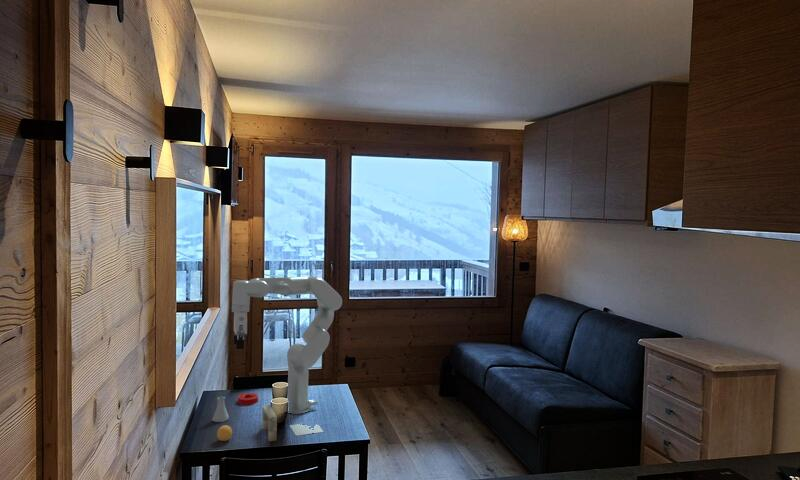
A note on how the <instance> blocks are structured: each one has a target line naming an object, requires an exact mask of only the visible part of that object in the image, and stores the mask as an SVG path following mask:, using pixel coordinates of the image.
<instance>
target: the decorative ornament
mask: <svg viewBox="0 0 800 480" xmlns="http://www.w3.org/2000/svg"><path fill="white" fill-rule="evenodd" d="M237 396H238V397H237V404H238V405H243V406H251V405H255V404H257V403H259V395H258V394H257V393H252V392H249V393H248V392H247V393H241V394H239V395H237Z"/></svg>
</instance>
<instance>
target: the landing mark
mask: <svg viewBox="0 0 800 480" xmlns="http://www.w3.org/2000/svg"><path fill="white" fill-rule="evenodd" d="M300 424H301V425H300ZM302 424H303V423H297V424H290V425H288V426H289V428H290V429H291V430H292V432H293V433H294V435H295V436H296V437H299V436H306V435H312V433H314V434H319V433H320V434H321V433H324V430H323V428H321V426H320V425H319V424H318V423H317V424H318V425H317V424H316V425H315V426H314V428H311V429H309V427H311V426H307V425H302ZM305 426H306V427H305ZM312 429H314V430H312Z"/></svg>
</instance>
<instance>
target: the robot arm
mask: <svg viewBox="0 0 800 480" xmlns="http://www.w3.org/2000/svg"><path fill="white" fill-rule="evenodd" d="M268 294H271V295H273V294H275V295H281V296H298V295H299V296H302V295H314V296H315V297H316V303H317V313H316V314H315V317H314V318H313V319H312V321H311V322H310V324H309V325H308V326H307V327H306V329H305V331H304V332H303V333H302V340H303V341H304V342H305V343H306V344H305V345H304V344H302V343H294V344H292V345H290V346H289V348H288V350H287V354H286V358H287V360H286V361H287V369H288V370H287V371H288V373H287V374H288V377H287V402H288V401H289V411H288V412H289V413H292V414H291V415H301V414H300V413H303V414H306V413H305V412H307V413H308V411H309V410H310V409H312V406H316V405H318V400H314V399H309V369H310V368H312V367H314V365H315V364H316V363H317V361H318V360H319V359H320V357H322V355H323V354H324V352H325V351H326V349H327V348H328V346H329V344H330V339H331V337H330V334H329V332H328V329H330V327H331V325H332V323H333V321H334V319H335V318H334V317H335V311H338V310H339V309H341V307H342V305H343V298H342V296H341V295H340V294H339V292H337V290H335V289H334V288H333V287H332V286H331V285H330V284H329V283H328V282H327V281H326V280H325V279H323V278H321V277H317V276H314V275H313V276H312V275H311V276H309V275H308V276H293V277H292V276H288V277H287V276H286V277H282V276H281V277H264V278H263V277H262V278H261V277H260V278H259V277H257V278H251V279H249V280H246V279H243V280H242V279H237V280H234V281H233V283H232V298H231V299H232V300H231V301H232V302H231V312H232V313H233V332H234V335H233V344H234V345H235V348H236V349H237V350H244V349H245V336H246V335H247V334H248V313H249V312H250V305H251V303H250V301H251V297H253V298H264V297H266V296H267V295H268ZM310 411H311V410H310ZM310 411H309V412H310ZM289 413H288V414H289Z"/></svg>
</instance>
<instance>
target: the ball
mask: <svg viewBox="0 0 800 480" xmlns="http://www.w3.org/2000/svg"><path fill="white" fill-rule="evenodd" d="M232 436H233V429H232V427H231V426H230V425H226V424H225V425H224V424H223V425H221V426H220V427H219V428H218V429H217V431H216V437H217V438H218V440H219V441H220V442H221V441H222V442H226V441H229V440H230V439H231V438H232Z"/></svg>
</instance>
